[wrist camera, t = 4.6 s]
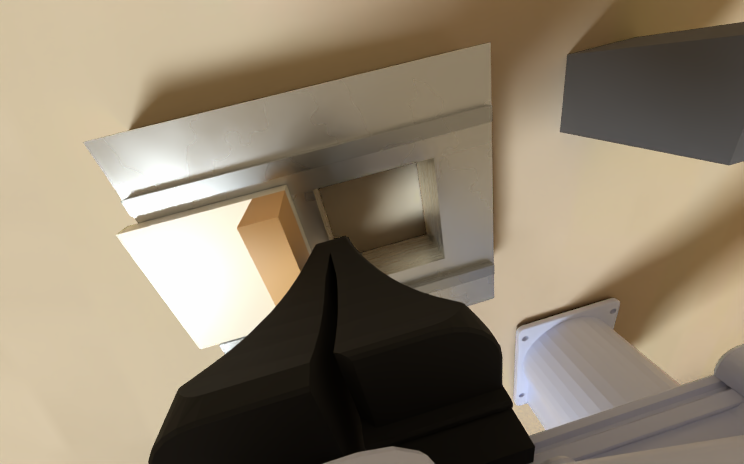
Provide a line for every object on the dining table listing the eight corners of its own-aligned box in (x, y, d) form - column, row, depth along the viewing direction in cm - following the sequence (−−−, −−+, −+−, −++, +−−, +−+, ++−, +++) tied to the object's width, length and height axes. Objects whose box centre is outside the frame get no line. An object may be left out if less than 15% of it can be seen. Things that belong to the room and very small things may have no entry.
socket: (471, 271, 18) (498, 302, 16) (250, 336, 17) (238, 381, 15) (458, 49, 13) (497, 40, 10) (127, 130, 12) (73, 144, 9)
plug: (621, 115, 15) (882, 142, 8) (560, 131, 15) (773, 174, 8) (636, 37, 14) (977, -11, 7) (567, 54, 13) (844, 23, 6)
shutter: (329, 300, 14) (334, 353, 11) (205, 337, 14) (178, 400, 11) (286, 184, 11) (277, 217, 8) (127, 226, 11) (64, 274, 8)
